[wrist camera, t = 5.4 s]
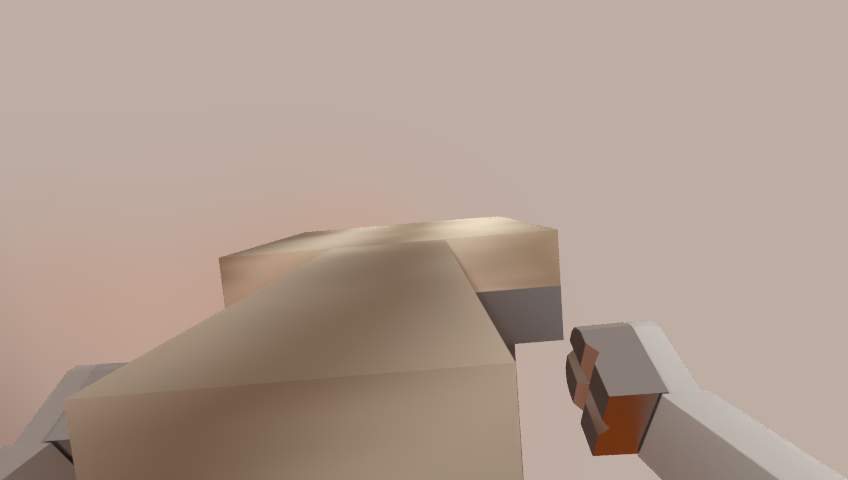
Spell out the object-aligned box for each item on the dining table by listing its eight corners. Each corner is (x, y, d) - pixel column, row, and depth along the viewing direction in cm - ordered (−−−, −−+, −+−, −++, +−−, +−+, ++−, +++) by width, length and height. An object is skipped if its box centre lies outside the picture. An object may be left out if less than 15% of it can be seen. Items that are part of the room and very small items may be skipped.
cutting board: (-333, 642, 4) (-391, 437, 4) (308, 264, 28) (305, 232, 28) (962, 536, 4) (969, 324, 4) (500, 248, 28) (498, 216, 28)
